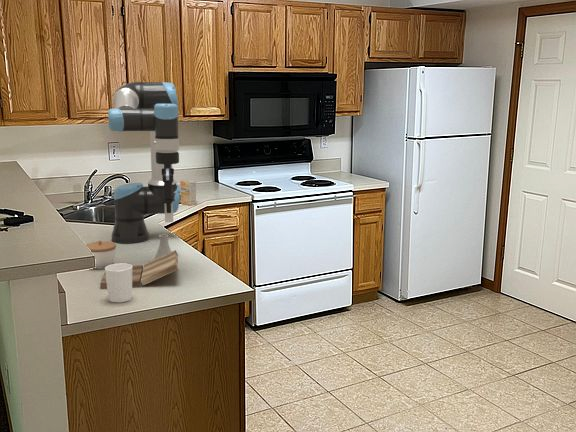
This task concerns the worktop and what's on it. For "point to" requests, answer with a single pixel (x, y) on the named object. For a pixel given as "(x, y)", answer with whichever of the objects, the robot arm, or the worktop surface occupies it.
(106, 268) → the white cup
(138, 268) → the walnut plank
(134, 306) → the worktop surface
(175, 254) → the oak plank
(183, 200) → the supplement box
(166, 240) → the flask
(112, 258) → the lidded jar
